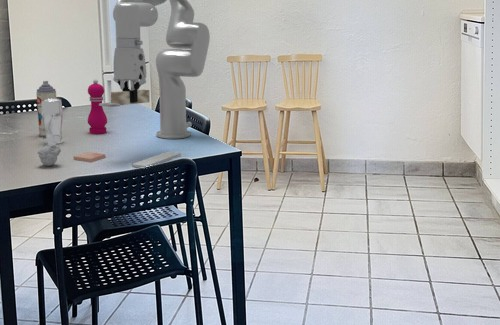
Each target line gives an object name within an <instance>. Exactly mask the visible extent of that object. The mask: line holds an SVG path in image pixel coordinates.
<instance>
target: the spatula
mask: <svg viewBox="0 0 500 325" xmlns="http://www.w3.org/2000/svg"><path fill="white" fill-rule="evenodd" d="M137 92H138V102H135V103H130V92H129V91H122V90H120V91H111V92H110V102H104V103H103V102H102V103H101V104H99V106H102V107H109V108H110V107H111V108H114V107H121V106H125V105H127V106H128V105H139V104H146V103H150V89H139V90H137Z"/></svg>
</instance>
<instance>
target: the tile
mask: <svg viewBox="0 0 500 325" xmlns="http://www.w3.org/2000/svg"><path fill="white" fill-rule="evenodd" d="M105 158H107V157H106V153H98V152H92V151H87V152H84V153H83V152H82V153H80V154H76V155H74V156H73V160H74V161H81V162H88V163H93V162H97V161H99V160H102V159H105Z"/></svg>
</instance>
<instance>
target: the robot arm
mask: <svg viewBox="0 0 500 325" xmlns="http://www.w3.org/2000/svg"><path fill="white" fill-rule="evenodd" d="M167 1H168V0H117V2H116V3H115V5H114V8H113V11H112V17H113V20H114V24H115V25H114V26H115V45H116V46H115V48H114V52H113V54H114V55H113V81H114V82H115V83H116V84H118V86H119V87H120V89H121V90H120V91H129V92H130V103H135V102H138V92H137V90H140V87H141V86H142V85H144V84H146V83H147V80H146V78H147V65H146V62H147V61H146V58H145V53H144V49H143V48H142V45H143V44H144V43H143V40H141V28H142V27H143V28H144V27H151V26H153V25H154V24H156V23H157V22H158V18H159V12H158V9H157V7H156V6H159V5H160V6H161V5H162V4H164V3H166V2H167ZM169 4H170V10H171V11H170V17H169V21H168V26H167V30H166V33H165V34H166V35H165V42H166V44H167V46H168V47H170V48H166V49H162V50H160V51H159V52H157V55H156V57H155V67H156V72H157V77H158V86H159V87H158V88H159V121H160V122H159V127H160V130H158V131H157V132H156V133H155V136H156V137H157V138H161V139H169V140H172V139H173V140H175V139H176V140H177V139H185V138H189V137H191V131H189V130H188V128H190V127H192V125H193V124H192V122H191V121H187V103H186V102H187V95H186V94H187V92H186V84H184V81H183V80H182V78H181V77H186V78H187V77H188V78H189V77H190V78H196V77H199V76H201V75H202V74H203V72H204V69H205V66H206V60H207V54H208V50H209V46H210V40H211V39H210V30H209V28H208V25H206V24H205V23H202V22H194V20H195V19H194V18H195V11H194V8H193V7H192V5H191V3H190V2H189V1H188V0H169ZM129 82H130V83H129Z"/></svg>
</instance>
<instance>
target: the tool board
mask: <svg viewBox="0 0 500 325" xmlns="http://www.w3.org/2000/svg"><path fill="white" fill-rule="evenodd" d="M181 156H182V153H180V152H175V151H165V152H163V153H160V154H156V155H153V156H151V157H148V158H145V159H142V160H140V161H136V162H134V163H132V164H131V165H132V167H133V168H139V169H141V168H140V167H146V166H150V165H154V166H156V165H155V164H157V165H159V164H158V163H160V164H162V163H165V162H167V161H170V160H173V159H175V158H178V157H181Z"/></svg>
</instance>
